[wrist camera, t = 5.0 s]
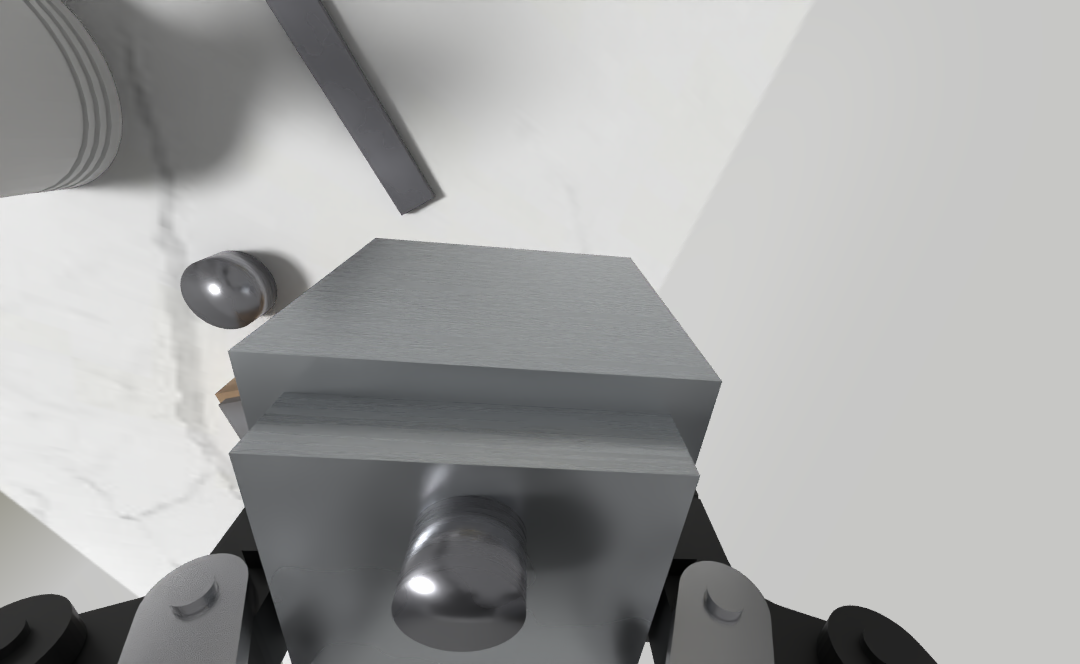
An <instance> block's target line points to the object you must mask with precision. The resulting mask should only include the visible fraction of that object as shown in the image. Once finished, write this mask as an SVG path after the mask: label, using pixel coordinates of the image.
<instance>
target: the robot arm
mask: <svg viewBox="0 0 1080 664" xmlns="http://www.w3.org/2000/svg"><path fill="white" fill-rule="evenodd" d="M645 642H650V646H651V650H652V655H653V659H654V664H937V663H936V662H935V660H934V659H933V658H932V657H931V656H930V655H929V654H928V653H927V652H926V651H925V649H924V648H923V647H922V646H921V645H920V644H919V643H918V642H917V641H916V640H915V639H914V638H913V637H912V636H911V635H910V634H909V633H908V632H906V631H905V630H904V629H903V628H902V627H900V626H899V625H898V624H896V623H895V622H893V621H892V620H890V619H888V618H887V617H885V616H883V615H881V614H879V613H877V612H875V611H872V610H870V609H867V608H863V607H859V606H843V607H839V608H837V609H836V610H834V611H833V612H832V614H831V615H830V617H829V619H828V620H827V621H825V620H821V619H819V618H815V617H812V616H809V615H806V614H803V613H800V612H797V611H794V610H791V609H788V608H784V607H782V606H779V605H777V604H774V603H772V602H770V601H768V600H766V599H765V598H764V597H763V595H762V594H761V592H760V591H759V590H758V588H757V587H756V586H755V585H754V584H753V583H752V582H751V581H750V580H749V579H748V578H747V577H746V576H745V575H743V574H742V573H740V572H739V571H737V570H736V569H734V568H732V567H731V565H730V563H729V562H728V560H727V557H726V555H725V553H724V551H723V549H722V546H721V544H720V542H719V540H718V538H717V535H716V533H715V531H714V529H713V527H712V524H711V522H710V520H709V518H708V515H707V513H706V511H705V509H704V507H703V504H702V502H701V500H700V499H698V493H697V491H696V490H695V493H694V496H693V499H692V502H691V505H690V508H689V511H688V514H687V517H686V520H685V523H684V526H683V529H682V532H681V535H680V538H679V541H678V544H677V547H676V550H675V553H674V556H673V559H672V562H671V565H670V568H669V571H668V574H667V577H666V580H665V583H664V586H663V589H662V592H661V595H660V598H659V601H658V604H657V607H656V610H655V613H654V616H653V619H652V623H651V626H650V629H649V632H648V635H647V638H646V641H645ZM287 650H288V649H287V646H286V642H285V639H284V636H283V632H282V629H281V626H280V622H279V619H278V616H277V612H276V609H275V606H274V602H273V599H272V596H271V592H270V589H269V586H268V582H267V579H266V576H265V572H264V569H263V566H262V562H261V559H260V556H259V552H258V549H257V546H256V542H255V539H254V536H253V532H252V529H251V526H250V522H249V519H248V516H247V512H246V509H245V508H244V509H243V510H242V512H241V513H240V514H239V516H238V517H237V518H236V520H235V521H234V523H233V524H232V525H231V527H230V528H229V529H228V531H227V532H226V533H225V535H224V536H223V538H222V539H221V540H220V542H219V543H218V544H217V546H216V547H215V548H214V550H213V551H212V552H211V553H210V555H207V556H203V557H200V558H197V559H194V560H192V561H190V562H188V563H185V564H184V565H182V566H180V567H178V568H176V569H175V570H173V571H172V572H171V573H169V574H168V575H166V576H165V577H164V578H163V579H161V580H160V581H159V582H158V583H157V584H156V585H155V586H154V587H153V588H152V589H151V590H150V591H149V592H148V593H147V595H146V596H144V597H141V598H138V599H134V600H130V601H126V602H123V603H119V604H115V605H111V606H107V607H104V608H100V609H96V610H92V611H88V612H85V613H81V614H78V613H77V611H76V610H75V608H74V607H73V605H72V604H71V603H70V601H69V600H68V599H67V598H65V597H63V596H60V595H54V594H45V595H38V596H33V597H29V598H26V599H22V600H19V601H16V602H14V603H11V604H9V605H6V606H4V607H2V608H0V664H283V662H282V660H283V658H284V656H285V654H286V652H287Z"/></svg>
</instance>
